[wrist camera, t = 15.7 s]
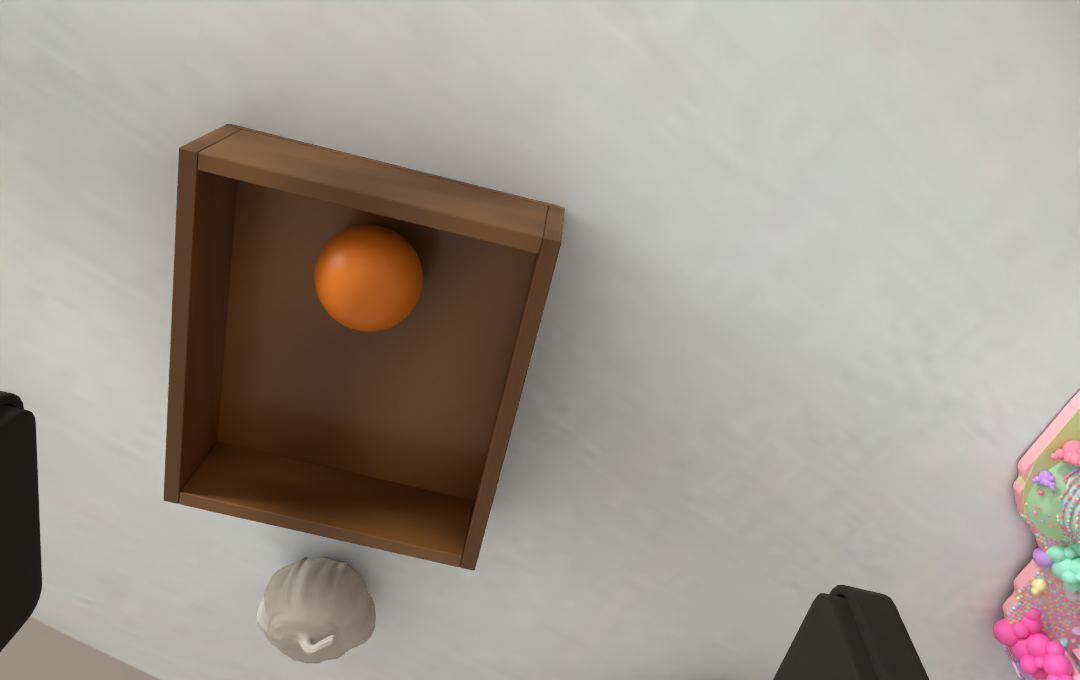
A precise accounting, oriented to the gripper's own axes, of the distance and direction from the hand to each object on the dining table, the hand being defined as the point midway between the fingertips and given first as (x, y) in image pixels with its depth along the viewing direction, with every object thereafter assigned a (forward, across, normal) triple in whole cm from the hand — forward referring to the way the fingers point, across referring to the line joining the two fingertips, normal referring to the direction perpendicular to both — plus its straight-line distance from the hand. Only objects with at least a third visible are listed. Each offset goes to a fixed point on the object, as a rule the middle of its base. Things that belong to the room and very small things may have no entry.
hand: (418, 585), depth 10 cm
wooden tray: (+26, +6, +11) cm, 29 cm away
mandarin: (+24, +6, +7) cm, 25 cm away
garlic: (+26, +6, +26) cm, 37 cm away
